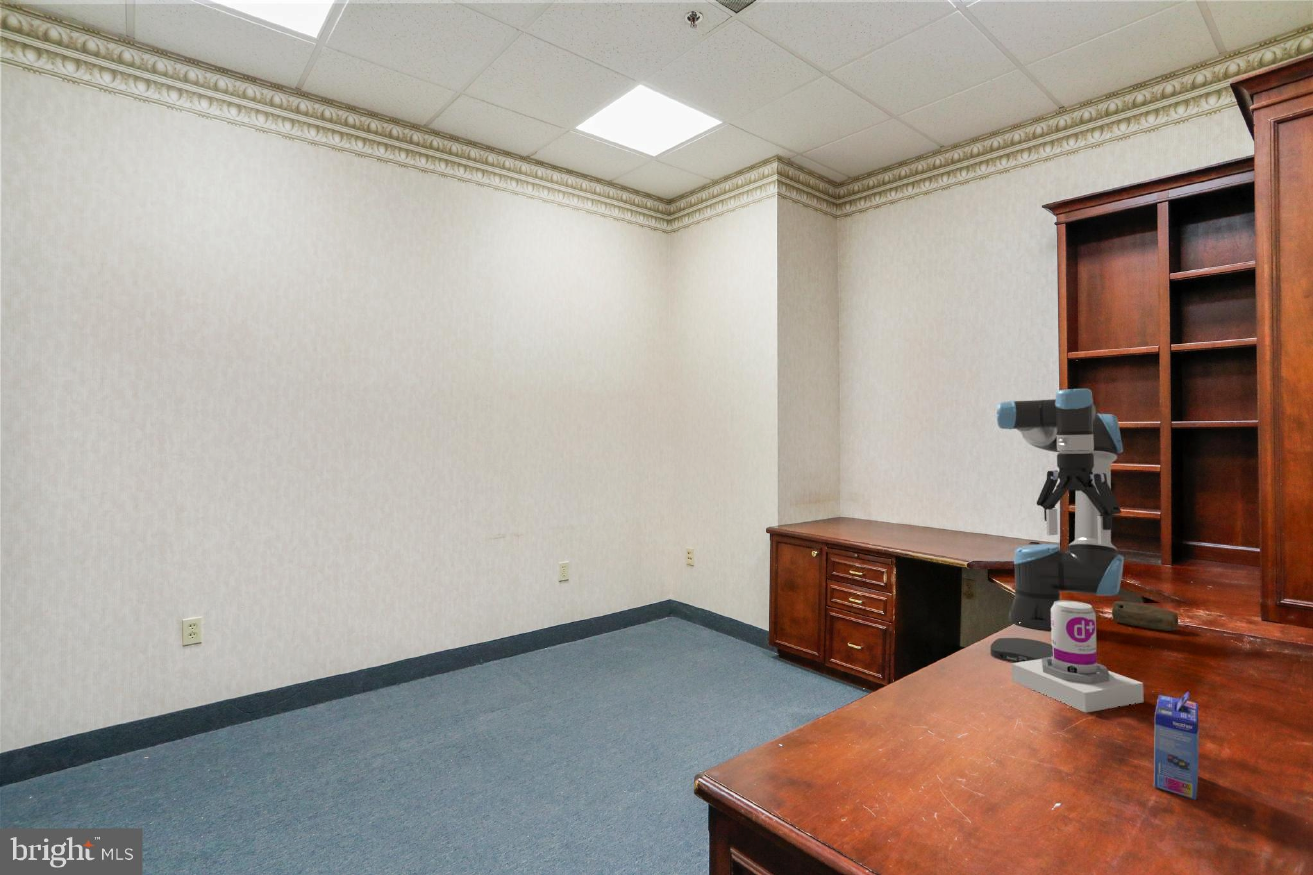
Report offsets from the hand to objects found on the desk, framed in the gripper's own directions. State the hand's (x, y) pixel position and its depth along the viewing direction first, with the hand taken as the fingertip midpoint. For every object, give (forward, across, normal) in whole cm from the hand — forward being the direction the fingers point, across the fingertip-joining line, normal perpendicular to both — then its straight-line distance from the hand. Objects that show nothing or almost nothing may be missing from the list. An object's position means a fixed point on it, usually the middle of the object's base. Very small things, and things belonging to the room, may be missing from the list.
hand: (1077, 539), depth 154 cm
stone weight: (+32, -17, +45) cm, 58 cm away
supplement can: (+27, +12, -16) cm, 33 cm away
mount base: (+30, +12, -16) cm, 36 cm away
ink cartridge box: (+30, +45, -34) cm, 64 cm away
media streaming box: (+31, -9, -7) cm, 33 cm away
